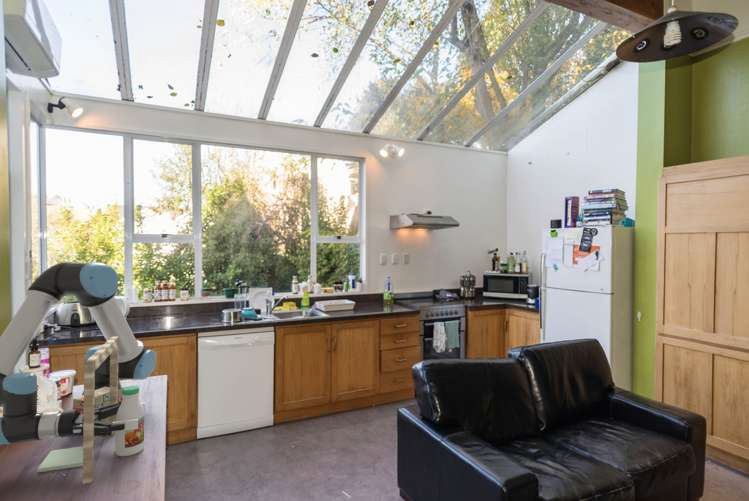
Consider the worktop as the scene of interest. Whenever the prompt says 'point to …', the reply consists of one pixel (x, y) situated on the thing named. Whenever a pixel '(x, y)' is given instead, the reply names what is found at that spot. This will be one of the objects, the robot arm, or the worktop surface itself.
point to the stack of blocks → (97, 400)
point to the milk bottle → (129, 410)
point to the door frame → (89, 394)
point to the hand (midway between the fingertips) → (141, 414)
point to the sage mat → (62, 459)
